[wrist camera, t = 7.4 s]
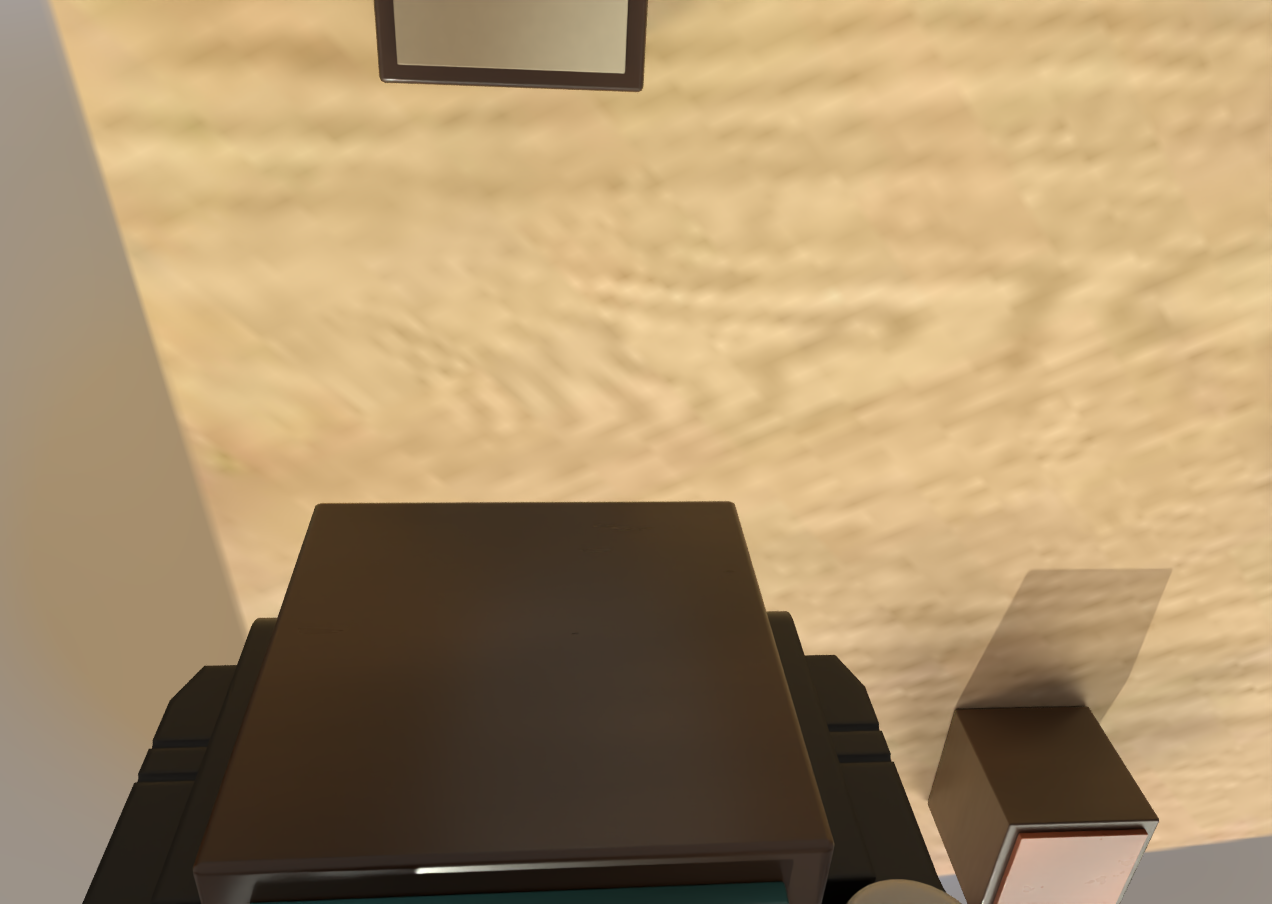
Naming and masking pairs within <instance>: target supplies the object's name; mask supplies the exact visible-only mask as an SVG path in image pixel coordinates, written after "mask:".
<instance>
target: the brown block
mask: <svg viewBox="0 0 1272 904" xmlns="http://www.w3.org/2000/svg"><path fill="white" fill-rule="evenodd" d="M647 7H648V0H374V11H375V25H376V38H377V51H378V65H379V77H380V79H381V81H383V82H385V83H408V84H434V85H461V86H488V87H514V88H541V89H568V90H594V91H621V92H639V91H642V89H643V83H644V64H645V45H646V26H647Z"/></svg>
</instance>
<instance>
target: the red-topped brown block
mask: <svg viewBox="0 0 1272 904" xmlns="http://www.w3.org/2000/svg"><path fill="white" fill-rule="evenodd" d="M928 806H929V808H930V811H931V813H932V816H933V818H934V821H935V823H936V826H937V828H938V831H939V833H940V836H941V838H942V841H943V843H944V846H945V849H946V851H947V854H948V856H949V859H950V861H951V864H952V866H953V869H954V871H955V874H956V876H957V878H958V881H959V883H960V886H961V888H962V891H963V894H964V896H965V899H966V900H967V904H1120V903H1121V901H1122V898H1123V896H1124V894H1125V892H1126V890H1127V888H1128V886H1129V884H1130V882H1131V880H1132V877H1133V875H1134V873H1135V871H1136V869H1137V867H1138V864H1139V863H1140V860H1141V858H1142V856H1143V854H1144V852H1145V850H1146V848H1147V846H1148V844H1149V841H1150V839H1151V837H1152V835H1153V833H1154V831H1155V829H1156V827H1157V824H1158V822H1159V818H1158V817H1157V815H1156V814H1155V812H1154V810H1153V809H1152V807H1151V806H1150V804H1149V802H1148V801H1147V799H1146V798H1145V796H1144V795H1143V793H1142V791H1141V790H1140V788H1139V787H1138V785H1137V783H1136V782H1135V780H1134V779H1133V777H1132V775H1131V774H1130V772H1129V771H1128V769H1127V768H1126V766H1125V764H1124V763H1123V761H1122V760H1121V758H1120V756H1119V755H1118V753H1117V752H1116V750H1115V748H1114V747H1113V745H1112V744H1111V742H1110V741H1109V739H1108V737H1107V736H1106V734H1105V733H1104V731H1103V729H1102V728H1101V726H1100V725H1099V723H1098V721H1097V720H1096V718H1095V717H1094V715H1093V713H1092V712H1091V710H1090V709H1089V707H1043V708H993V709H956V710H955V712H954V716H953V719H952V722H951V726H950V729H949V733H948V736H947V740H946V743H945V746H944V750H943V753H942V757H941V760H940V763H939V767H938V770H937V774H936V777H935V780H934V784H933V787H932V791H931V794H930V797H929V801H928Z"/></svg>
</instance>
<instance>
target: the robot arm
mask: <svg viewBox="0 0 1272 904" xmlns="http://www.w3.org/2000/svg"><path fill="white" fill-rule="evenodd" d="M767 616H768V619H769V623H770V626H771V629H772V633H773V636H774V640H775V643H776V646H777V650H778V653H779V657H780V660H781V663H782V667H783V670H784V674H785V677H786V681H787V684H788V687H789V691H790V694H791V698H792V701H793V704H794V708H795V711H796V715H797V718H798V721H799V725H800V728H801V732H802V735H803V738H804V742H805V745H806V749H807V752H808V755H809V759H810V762H811V766H812V769H813V772H814V776H815V779H816V783H817V786H818V790H819V793H820V796H821V800H822V803H823V807H824V810H825V813H826V817H827V820H828V824H829V827H830V830H831V834H832V837H833V841H834V844H835V845H834V851H833V855H832V860H831V864H830V869H829V873H828V877H827V882H826V886H825V891H824V895H823V899H822V904H961V903H960V902H959V901H958V900H956V899H955V898H953V897H952V896H950V895H948V894H947V893H946V891H945V890H944V888H943V886H942V884H941V882H940V880H939V878H938V876H937V873H936V871H935V868H934V865H933V863H932V860H931V858H930V855H929V852H928V850H927V847H926V845H925V842H924V839H923V837H922V834H921V832H920V829H919V826H918V824H917V821H916V818H915V816H914V813H913V811H912V808H911V805H910V803H909V800H908V798H907V795H906V792H905V790H904V787H903V785H902V782H901V779H900V777H899V774H898V772H897V769H896V766H895V764H894V762H891V757H890V755H891V753H890V751H889V748H888V746H887V743H886V740H885V738H884V735H883V733H882V731H880V730H879V722H878V719H877V717H876V714H875V712H874V709H873V706H872V704H871V701H870V699H869V696H868V693H867V691H866V688H865V686H864V685H863V684H862V683H861V682H860V681H859V680H858V679H857V678H856V677H855V676H854V675H853V673H852V672H851V671H850V670H849V669H848V668H847V667H846V666H845V665H844V664H843V663H842V662H841V661H840V660H839V659H838V658H837V656H836V655H807V656H805V655H804V652H803V649H802V646H801V643H800V640H799V637H798V634H797V631H796V627H795V624H794V621H793V619H792V617H791V615H790V613H789V612H787V611H772V612H767ZM276 621H277V618H258V619H256V620H255V621H254V623H253V624H252V626H251V629H250V631H249V634H248V637H247V640H246V642H245V645H244V648H243V651H242V653H241V656H240V659H239V661H238V664H237V665H230V666H229V665H227V666H226V665H224V666H204V667H203V668H202V669H201V670H200V671H199V672H198V673H197V674H196V675H195V676H194V677H193V678H192V679H191V680H190V681H189V682H188V683H187V684H186V685H185V686H184V687H183V688H182V689H181V690H180V691H179V692H178V693H177V694H176V695H175V696H174V697H173V698H172V699H171V700H170V702H169V704H168V706H167V708H166V711H165V713H164V715H163V718H162V720H161V722H160V725H159V727H158V729H157V731H156V734H155V736H154V738H153V746H152V749H149V750H148V752H147V755H146V757H145V759H144V762H143V764H142V766H141V769H140V771H139V773H138V782H137V783H134V785H133V787H132V790H131V792H130V794H129V797H128V799H127V801H126V803H125V806H124V808H123V810H122V813H121V815H120V817H119V820H118V822H117V824H116V827H115V829H114V831H113V834H112V836H111V838H110V841H109V843H108V846H107V848H106V850H105V852H104V855H103V857H102V859H101V861H100V864H99V866H98V868H97V871H96V873H95V875H94V878H93V880H92V882H91V885H90V887H89V889H88V892H87V894H86V896H85V899H84V901H83V903H82V904H201V900H200V897H199V893H198V889H197V886H196V882H195V878H194V875H193V866H194V863H195V860H196V857H197V854H198V851H199V848H200V845H201V842H202V839H203V836H204V833H205V830H206V827H207V824H208V821H209V818H210V815H211V812H212V810H213V807H214V804H215V801H216V798H217V795H218V792H219V789H220V786H221V783H222V780H223V777H224V774H225V771H226V768H227V765H228V762H229V759H230V756H231V754H232V751H233V748H234V745H235V742H236V739H237V736H238V733H239V730H240V727H241V724H242V721H243V718H244V715H245V712H246V709H247V706H248V703H249V700H250V697H251V695H252V692H253V689H254V686H255V683H256V680H257V677H258V674H259V671H260V668H261V665H262V662H263V659H264V656H265V653H266V650H267V647H268V644H269V641H270V639H271V636H272V633H273V630H274V627H275V624H276Z"/></svg>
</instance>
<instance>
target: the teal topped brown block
mask: <svg viewBox="0 0 1272 904" xmlns="http://www.w3.org/2000/svg"><path fill="white" fill-rule="evenodd" d="M834 845H835V844H834V841H833V837H832V834H831V830H830V827H829V824H828V820H827V817H826V813H825V810H824V807H823V803H822V800H821V796H820V793H819V790H818V786H817V783H816V779H815V776H814V772H813V769H812V766H811V762H810V759H809V755H808V752H807V749H806V745H805V742H804V738H803V735H802V732H801V728H800V725H799V721H798V718H797V715H796V711H795V708H794V704H793V701H792V698H791V694H790V691H789V687H788V684H787V681H786V677H785V674H784V670H783V667H782V663H781V660H780V657H779V653H778V650H777V646H776V643H775V640H774V636H773V633H772V629H771V626H770V623H769V619H768V616H767V612H766V609H765V606H764V602H763V599H762V595H761V592H760V589H759V585H758V582H757V578H756V575H755V571H754V568H753V565H752V561H751V558H750V554H749V551H748V548H747V544H746V541H745V537H744V534H743V531H742V527H741V524H740V520H739V517H738V514H737V510H736V507H735V504H734V503H733V502H729V501H688V502H462V503H320V504H317V505H316V506H315V509H314V512H313V515H312V518H311V521H310V524H309V526H308V529H307V532H306V535H305V538H304V541H303V544H302V547H301V550H300V553H299V556H298V559H297V562H296V565H295V568H294V571H293V574H292V577H291V580H290V583H289V585H288V588H287V591H286V594H285V597H284V600H283V603H282V606H281V609H280V612H279V615H278V618H277V621H276V624H275V627H274V630H273V633H272V636H271V639H270V641H269V644H268V647H267V650H266V653H265V656H264V659H263V662H262V665H261V668H260V671H259V674H258V677H257V680H256V683H255V686H254V689H253V692H252V695H251V697H250V700H249V703H248V706H247V709H246V712H245V715H244V718H243V721H242V724H241V727H240V730H239V733H238V736H237V739H236V742H235V745H234V748H233V751H232V754H231V756H230V759H229V762H228V765H227V768H226V771H225V774H224V777H223V780H222V783H221V786H220V789H219V792H218V795H217V798H216V801H215V804H214V807H213V810H212V812H211V815H210V818H209V821H208V824H207V827H206V830H205V833H204V836H203V839H202V842H201V845H200V848H199V851H198V854H197V857H196V860H195V863H194V866H193V875H194V878H195V882H196V886H197V889H198V893H199V897H200V900H201V904H822V899H823V895H824V891H825V886H826V882H827V877H828V873H829V869H830V864H831V860H832V855H833V851H834Z"/></svg>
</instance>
